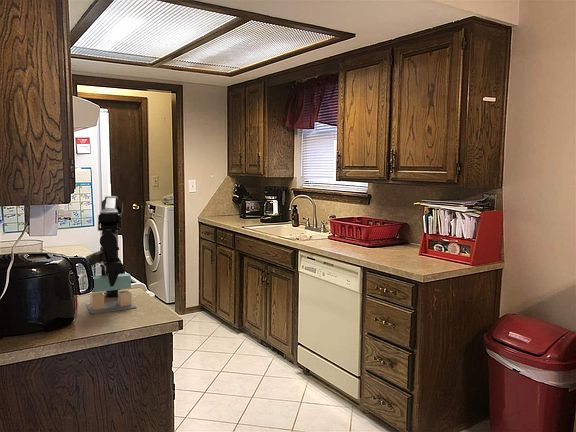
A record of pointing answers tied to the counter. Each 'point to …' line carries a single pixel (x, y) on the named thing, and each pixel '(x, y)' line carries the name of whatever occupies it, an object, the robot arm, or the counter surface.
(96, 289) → the teal beam
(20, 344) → the counter surface
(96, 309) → the bridge base
